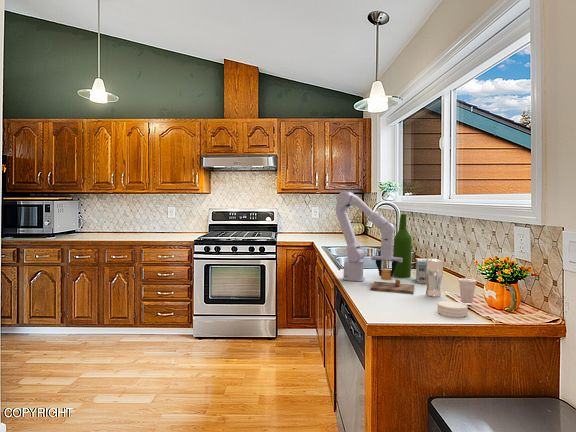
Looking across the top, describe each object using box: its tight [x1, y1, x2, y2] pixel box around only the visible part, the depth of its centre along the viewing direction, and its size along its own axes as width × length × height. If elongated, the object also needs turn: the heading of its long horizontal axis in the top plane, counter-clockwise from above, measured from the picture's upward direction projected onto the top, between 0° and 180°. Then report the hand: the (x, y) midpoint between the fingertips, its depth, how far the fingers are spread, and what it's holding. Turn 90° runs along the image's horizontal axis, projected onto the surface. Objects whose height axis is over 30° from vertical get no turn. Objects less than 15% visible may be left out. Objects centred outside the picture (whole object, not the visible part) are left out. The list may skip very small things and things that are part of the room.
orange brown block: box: [380, 268, 392, 281], centre depth 191 cm, size 5×5×4 cm
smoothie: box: [458, 268, 477, 304], centre depth 154 cm, size 6×6×14 cm
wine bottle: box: [393, 213, 413, 279], centre depth 208 cm, size 9×9×32 cm
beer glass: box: [425, 258, 444, 298], centre depth 168 cm, size 7×7×15 cm
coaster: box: [436, 300, 469, 318], centre depth 142 cm, size 10×10×4 cm
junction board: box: [369, 278, 415, 295], centre depth 179 cm, size 18×14×4 cm
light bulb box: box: [415, 257, 427, 284], centre depth 197 cm, size 11×7×11 cm, turn 168°
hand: (386, 276), depth 191 cm, fingers closed on orange brown block, 5 cm apart
